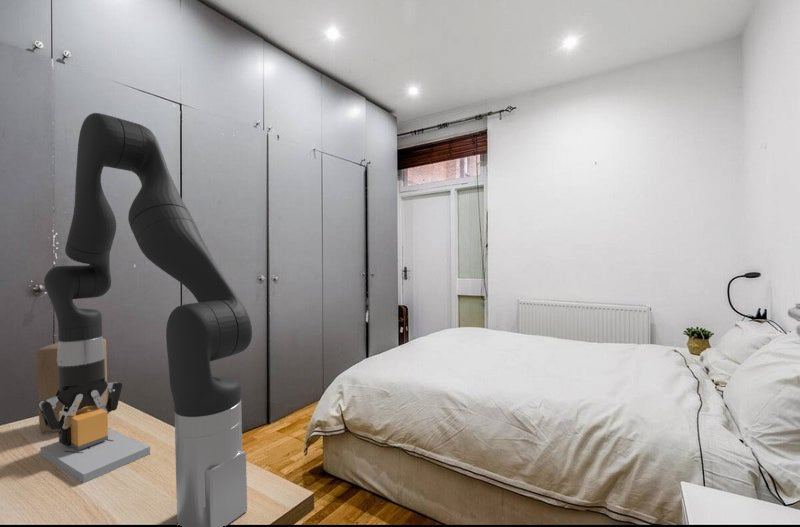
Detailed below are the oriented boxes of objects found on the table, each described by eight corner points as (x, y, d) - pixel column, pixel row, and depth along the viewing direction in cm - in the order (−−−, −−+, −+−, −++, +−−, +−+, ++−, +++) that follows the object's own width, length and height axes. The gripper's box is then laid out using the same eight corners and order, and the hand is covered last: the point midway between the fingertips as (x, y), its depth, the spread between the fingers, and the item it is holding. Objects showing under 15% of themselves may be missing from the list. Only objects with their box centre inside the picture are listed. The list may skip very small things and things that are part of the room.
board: (150, 453, 75) (150, 446, 75) (83, 482, 66) (83, 474, 66) (104, 432, 85) (103, 425, 85) (40, 454, 76) (40, 447, 76)
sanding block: (107, 439, 78) (107, 411, 78) (78, 450, 74) (77, 420, 73) (88, 429, 82) (87, 403, 82) (59, 439, 78) (58, 411, 78)
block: (37, 435, 84) (34, 349, 84) (64, 417, 94) (61, 339, 93) (89, 429, 87) (86, 345, 86) (110, 412, 96) (107, 336, 96)
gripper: (43, 371, 69) (46, 460, 70) (129, 353, 82) (131, 428, 82) (28, 366, 73) (31, 450, 73) (112, 349, 86) (114, 421, 86)
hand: (84, 438), depth 78 cm, fingers closed on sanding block, 5 cm apart
